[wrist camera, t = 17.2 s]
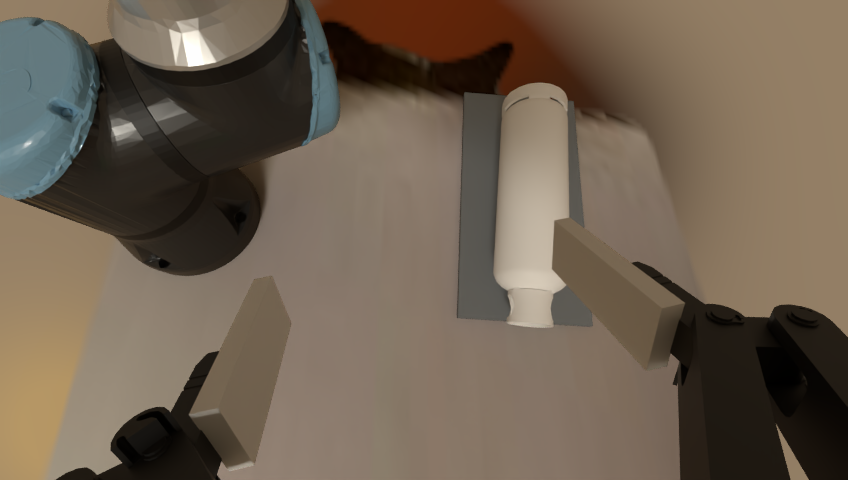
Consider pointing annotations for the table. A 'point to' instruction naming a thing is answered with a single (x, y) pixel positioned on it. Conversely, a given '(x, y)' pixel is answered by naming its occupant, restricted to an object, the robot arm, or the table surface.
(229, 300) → the table surface
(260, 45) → the robot arm
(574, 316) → the mat
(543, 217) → the bottle
